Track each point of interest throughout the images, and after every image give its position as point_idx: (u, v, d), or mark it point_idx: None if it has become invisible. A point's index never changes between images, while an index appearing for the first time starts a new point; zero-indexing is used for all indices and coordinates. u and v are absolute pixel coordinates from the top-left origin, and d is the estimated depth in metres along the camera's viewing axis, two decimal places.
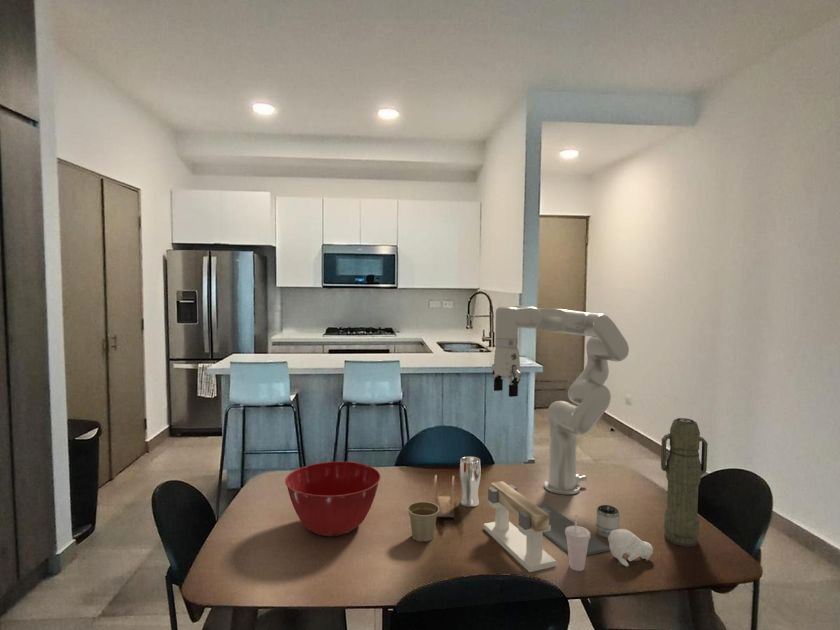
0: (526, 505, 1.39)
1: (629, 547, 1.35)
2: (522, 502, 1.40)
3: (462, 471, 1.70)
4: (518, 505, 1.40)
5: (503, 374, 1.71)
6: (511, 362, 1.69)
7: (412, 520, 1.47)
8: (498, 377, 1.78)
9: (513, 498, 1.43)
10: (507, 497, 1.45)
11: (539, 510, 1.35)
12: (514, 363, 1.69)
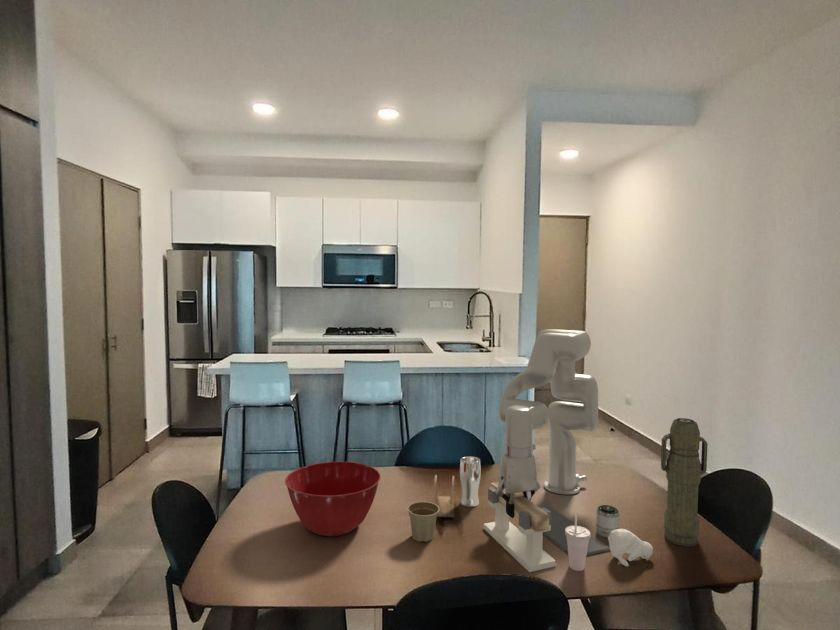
0: (526, 505, 1.39)
1: (629, 547, 1.35)
2: (522, 502, 1.40)
3: (462, 471, 1.70)
4: (518, 505, 1.40)
5: (528, 488, 1.42)
6: None
7: (412, 520, 1.47)
8: None
9: (513, 498, 1.43)
10: None
11: (539, 510, 1.35)
12: None
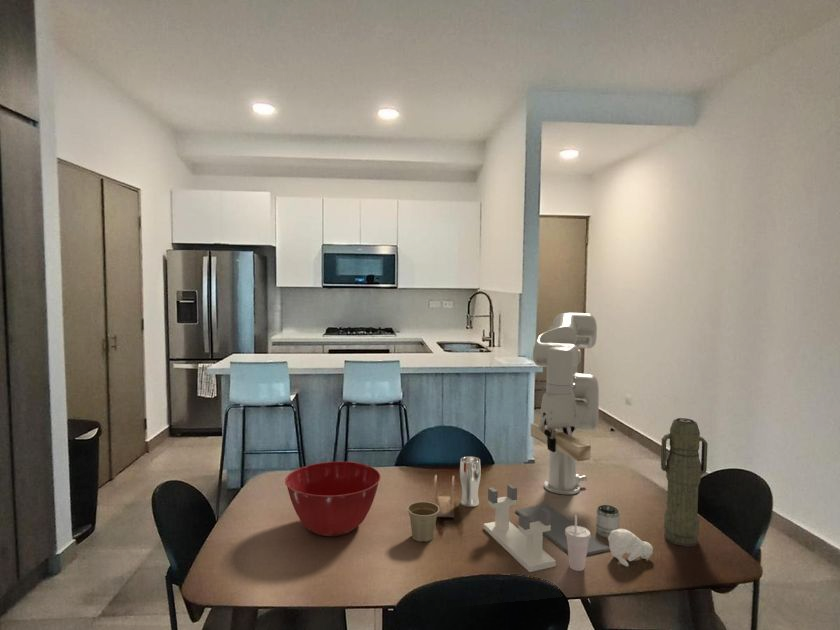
0: (567, 438, 1.47)
1: (629, 547, 1.35)
2: (563, 436, 1.49)
3: (462, 471, 1.70)
4: (559, 439, 1.48)
5: (568, 424, 1.50)
6: None
7: (412, 520, 1.47)
8: None
9: None
10: None
11: (580, 442, 1.44)
12: None
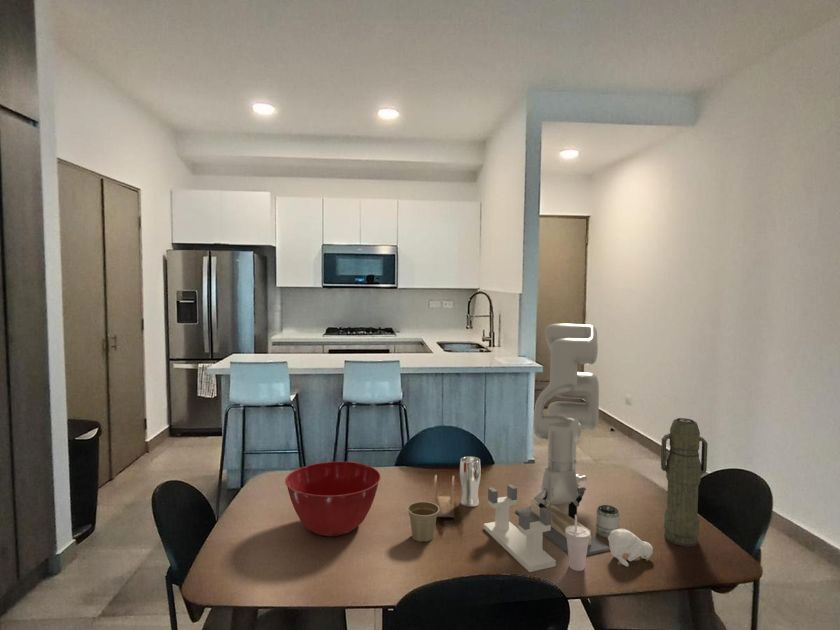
0: (568, 521, 1.49)
1: (629, 547, 1.35)
2: (564, 518, 1.51)
3: (462, 471, 1.70)
4: (560, 521, 1.50)
5: (569, 499, 1.52)
6: None
7: (412, 520, 1.47)
8: None
9: (555, 515, 1.53)
10: None
11: None
12: None
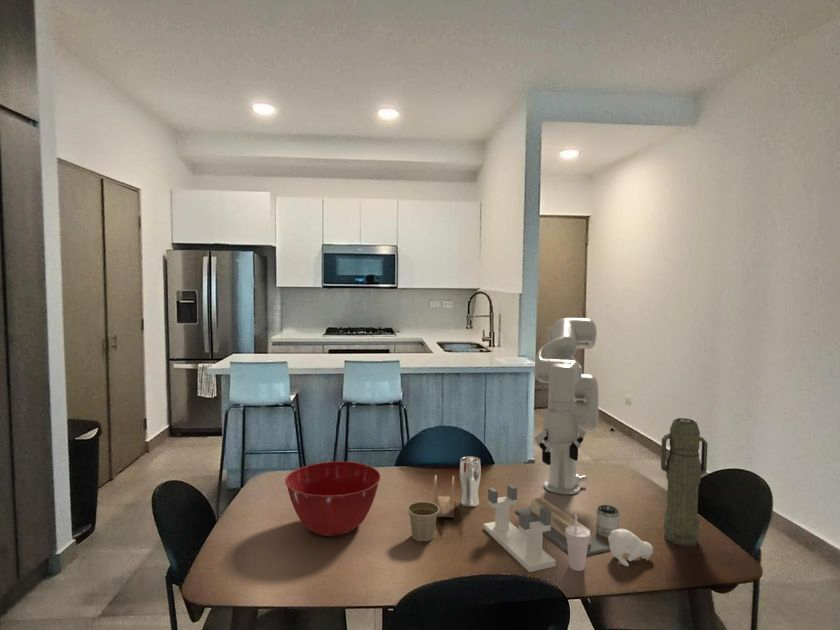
0: (568, 521, 1.49)
1: (629, 547, 1.35)
2: (564, 518, 1.51)
3: (462, 471, 1.70)
4: (560, 521, 1.50)
5: (570, 440, 1.52)
6: None
7: (412, 520, 1.47)
8: None
9: (555, 515, 1.53)
10: None
11: None
12: None
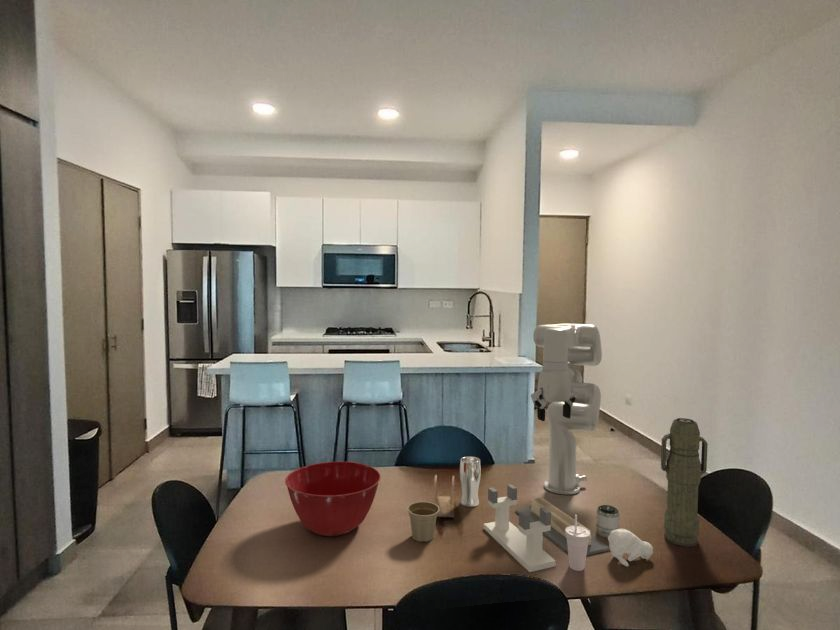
0: (568, 521, 1.49)
1: (629, 547, 1.35)
2: (564, 518, 1.51)
3: (462, 471, 1.70)
4: (560, 521, 1.50)
5: (563, 398, 1.64)
6: None
7: (412, 520, 1.47)
8: None
9: (555, 515, 1.53)
10: None
11: None
12: None
